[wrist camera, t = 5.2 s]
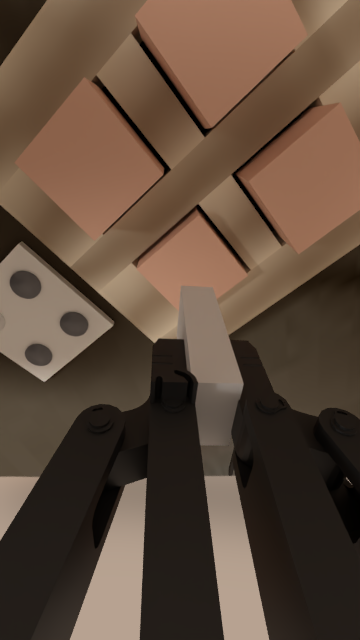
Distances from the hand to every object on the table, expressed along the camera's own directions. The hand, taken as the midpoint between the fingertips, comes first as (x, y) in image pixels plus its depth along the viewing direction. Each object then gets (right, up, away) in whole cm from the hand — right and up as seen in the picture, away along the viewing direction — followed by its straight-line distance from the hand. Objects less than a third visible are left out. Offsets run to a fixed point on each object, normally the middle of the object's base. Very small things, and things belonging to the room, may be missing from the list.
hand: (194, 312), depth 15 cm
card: (-12, 0, +11) cm, 16 cm away
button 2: (0, +4, +8) cm, 9 cm away
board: (0, +10, +5) cm, 11 cm away
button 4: (+6, +8, +4) cm, 11 cm away
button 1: (-5, +9, +3) cm, 11 cm away
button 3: (+1, +13, +1) cm, 13 cm away
